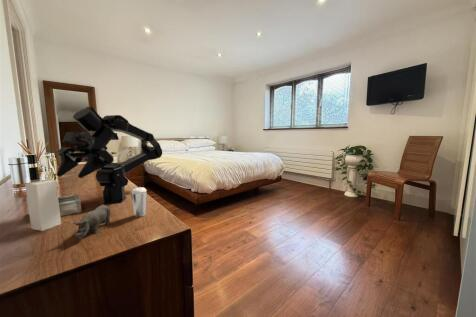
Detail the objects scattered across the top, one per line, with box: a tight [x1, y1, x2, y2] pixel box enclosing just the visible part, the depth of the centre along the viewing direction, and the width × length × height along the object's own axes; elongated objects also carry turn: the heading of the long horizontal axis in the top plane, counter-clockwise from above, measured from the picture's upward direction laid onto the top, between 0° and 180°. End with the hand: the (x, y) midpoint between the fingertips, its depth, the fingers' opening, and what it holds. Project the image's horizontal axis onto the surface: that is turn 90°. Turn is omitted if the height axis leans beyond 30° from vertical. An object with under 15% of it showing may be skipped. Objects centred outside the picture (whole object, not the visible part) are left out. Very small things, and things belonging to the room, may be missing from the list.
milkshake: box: [127, 184, 148, 218], centre depth 63 cm, size 4×5×10 cm
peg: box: [24, 179, 62, 232], centre depth 55 cm, size 4×4×13 cm
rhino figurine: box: [72, 204, 111, 240], centre depth 52 cm, size 4×14×6 cm, turn 5°
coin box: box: [58, 193, 82, 217], centre depth 67 cm, size 10×10×4 cm
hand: (68, 176), depth 61 cm, fingers open, 9 cm apart
